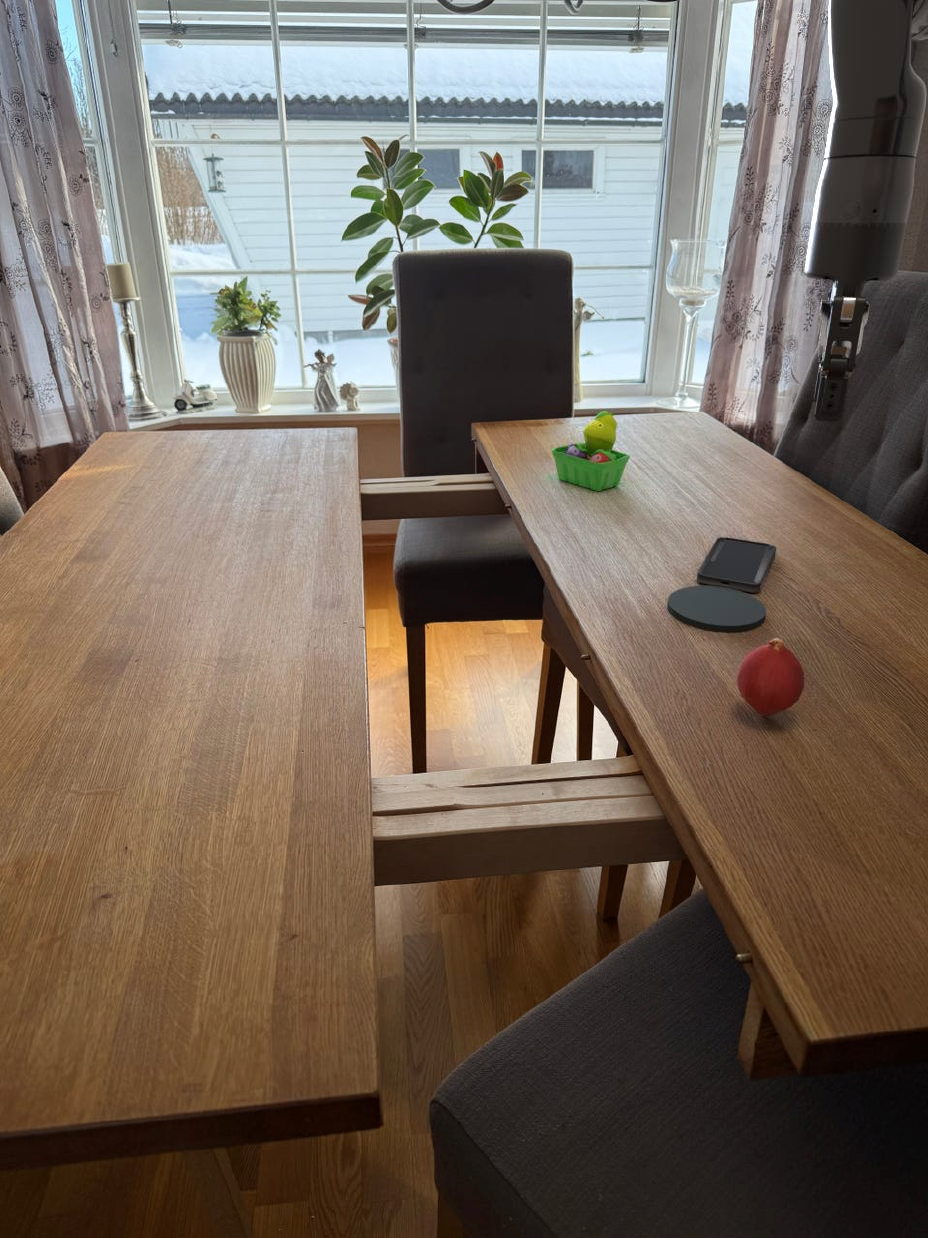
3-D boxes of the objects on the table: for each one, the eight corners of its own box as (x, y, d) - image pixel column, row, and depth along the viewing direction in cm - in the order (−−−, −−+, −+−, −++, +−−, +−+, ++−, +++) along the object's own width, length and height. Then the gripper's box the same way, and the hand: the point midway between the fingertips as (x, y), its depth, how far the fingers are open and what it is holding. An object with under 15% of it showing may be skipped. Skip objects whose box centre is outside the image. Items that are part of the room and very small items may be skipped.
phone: (777, 545, 118) (760, 585, 106) (776, 553, 119) (759, 594, 106) (717, 535, 121) (694, 573, 109) (716, 543, 122) (693, 582, 109)
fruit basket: (547, 478, 148) (550, 411, 143) (583, 469, 153) (587, 403, 149) (598, 495, 141) (604, 424, 136) (634, 484, 146) (641, 416, 141)
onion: (740, 692, 86) (753, 618, 82) (802, 708, 83) (818, 632, 80) (724, 720, 81) (737, 643, 78) (789, 738, 79) (805, 659, 75)
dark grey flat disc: (763, 597, 106) (764, 591, 106) (767, 637, 96) (768, 631, 96) (669, 587, 108) (670, 581, 108) (664, 625, 99) (665, 618, 98)
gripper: (916, 218, 68) (875, 430, 74) (899, 220, 80) (865, 401, 87) (812, 217, 70) (781, 423, 76) (811, 219, 82) (784, 396, 89)
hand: (826, 411), depth 81 cm, fingers open, 8 cm apart
